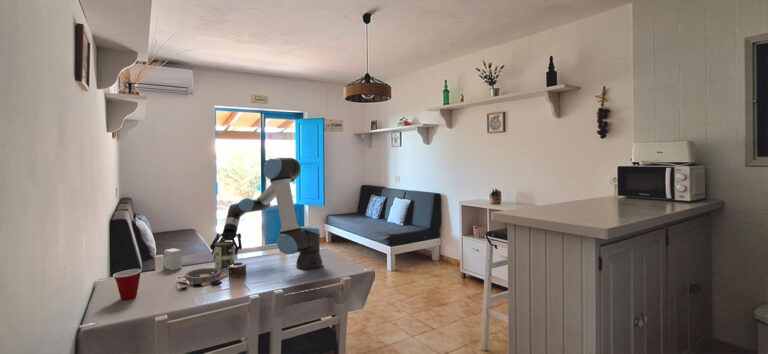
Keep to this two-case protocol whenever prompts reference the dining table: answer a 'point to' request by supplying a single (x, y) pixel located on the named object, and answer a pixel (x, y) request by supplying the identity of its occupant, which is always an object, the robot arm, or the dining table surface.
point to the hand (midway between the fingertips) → (223, 259)
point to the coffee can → (223, 254)
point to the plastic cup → (128, 283)
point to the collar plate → (204, 275)
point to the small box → (173, 259)
